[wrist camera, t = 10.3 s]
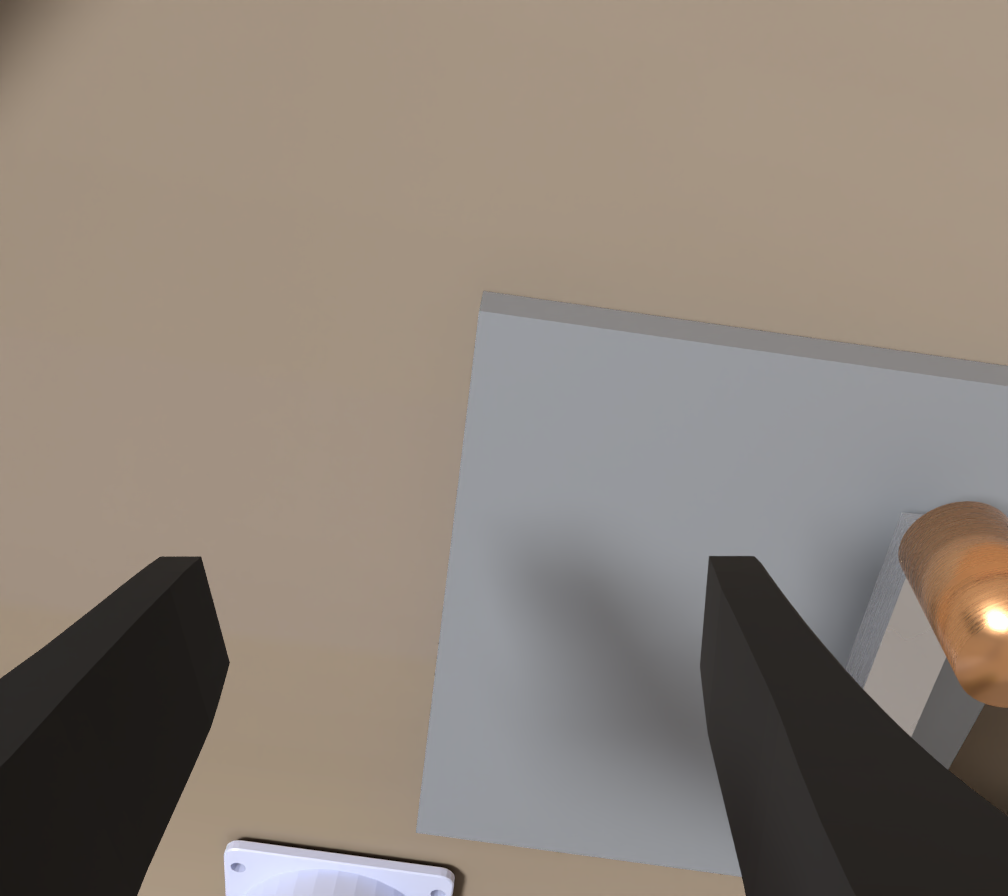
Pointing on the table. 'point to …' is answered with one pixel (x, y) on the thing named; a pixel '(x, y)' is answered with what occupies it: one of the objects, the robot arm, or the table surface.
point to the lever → (937, 611)
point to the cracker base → (666, 555)
